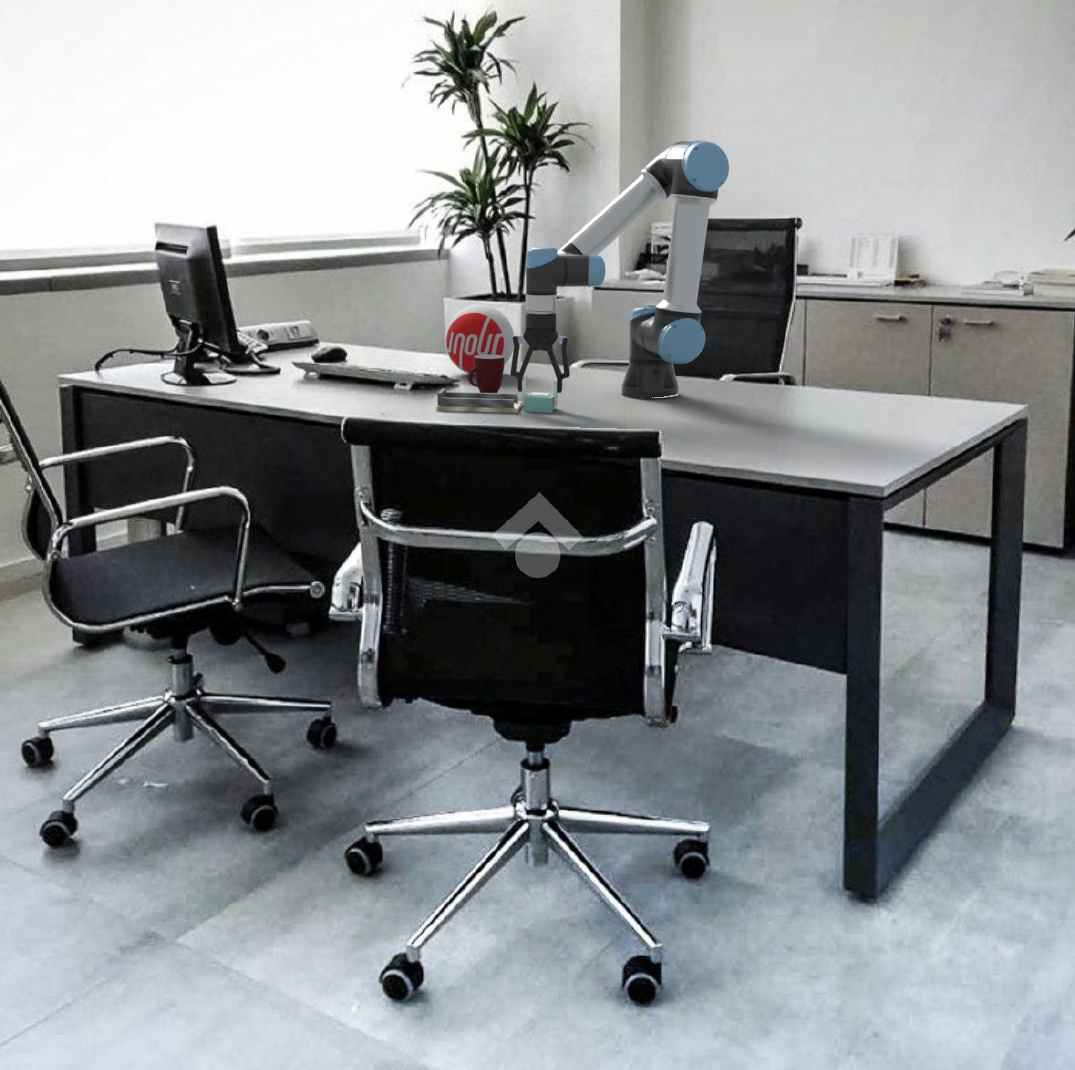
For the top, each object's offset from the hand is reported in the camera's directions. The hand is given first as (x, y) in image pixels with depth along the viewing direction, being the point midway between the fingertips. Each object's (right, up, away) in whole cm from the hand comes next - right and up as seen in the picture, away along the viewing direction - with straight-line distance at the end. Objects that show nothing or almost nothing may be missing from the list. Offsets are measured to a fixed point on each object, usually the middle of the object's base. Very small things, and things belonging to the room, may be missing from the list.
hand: (539, 405), depth 327 cm
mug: (-14, +4, +20) cm, 25 cm away
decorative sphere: (-17, +14, +52) cm, 56 cm away
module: (0, -1, 0) cm, 1 cm away
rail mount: (-15, 0, +2) cm, 15 cm away
